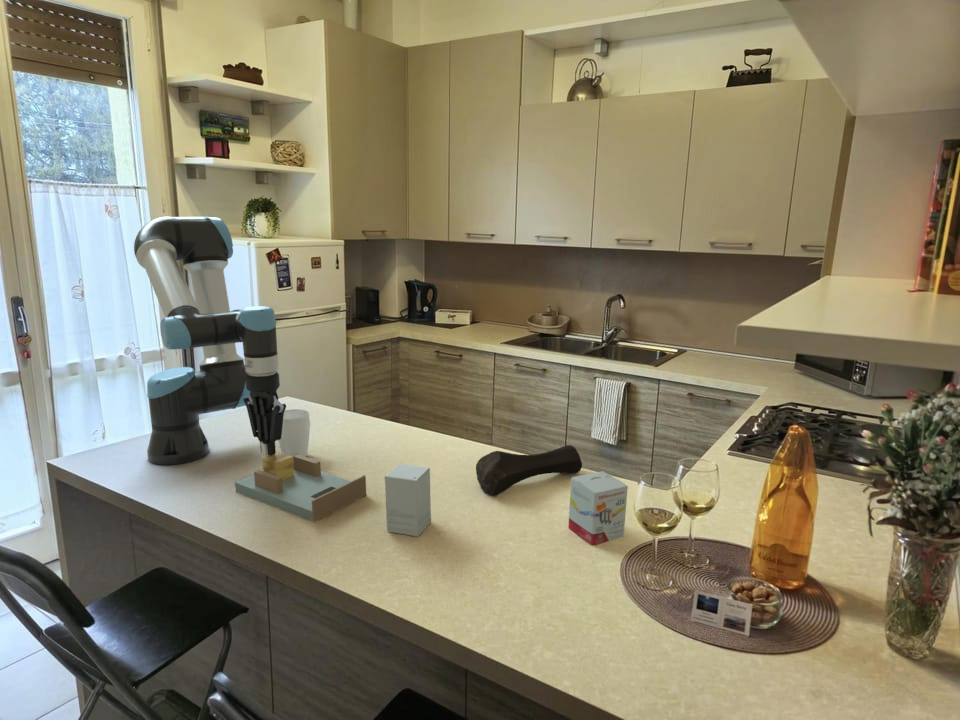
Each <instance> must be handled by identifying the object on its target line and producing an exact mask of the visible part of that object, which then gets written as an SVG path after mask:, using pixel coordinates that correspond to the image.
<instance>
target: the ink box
mask: <svg viewBox="0 0 960 720" xmlns="http://www.w3.org/2000/svg"><path fill="white" fill-rule="evenodd" d="M628 487H629V486H628V485H627V484H625V483H624V482H622V481H621V480H619V479H617V478H615V477H614V476H612V475H610V474H609V473H607V472H605V471H603V470H601V471H596V472H592V473H586V474H582V475H576V476H572V477H571V479H570V492H569V493H570V497H569V512H568V515H569V516H568V527H567V528H568V529H569V530H570V531H571V532H572V533H573V534H575V535H577V537H579V538H581V539H582V540H583V541H584V542H586V543H588V544H589V545H590V546H592V547H594V546H597V545H600V544H604V543H606V542H610V541H614V540H616V539H620V538H624V536H625V525H626V523H625V522H626V513H627V498H628V490H629V489H628Z"/></svg>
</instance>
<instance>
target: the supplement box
mask: <svg viewBox="0 0 960 720" xmlns="http://www.w3.org/2000/svg"><path fill="white" fill-rule="evenodd" d="M430 468H431V467H429V466H419V465H412V464H404V463H399V464H397V465H396V466H395V467H394V468H393V469H392V470H390V471H389V472H388V473H387V474H386V475H384V486H385V487H384V489H385V510H386V511H385V512H386V513H385V514H386V517H385V518H386V531H387V532H388V533H394V534H400V535H406V536H412V537H416V538H417V537H419V536H420V535H421V534H422V533H423V532H424V530H425V529H426V528H427V527H428V526H429V525H430V523H431V521H432V508H431V507H432V505H431V469H430ZM421 532H422V533H421Z"/></svg>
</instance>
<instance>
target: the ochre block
mask: <svg viewBox="0 0 960 720" xmlns="http://www.w3.org/2000/svg"><path fill="white" fill-rule="evenodd" d="M261 459H262V460H261V462H263V464H262V471H265V472H268V473H270V474H273V475H276V476H279V477H282V481H283V480H285V479H288V478H290V477H292V476H294V466H293V456H290V455H287V454H284V453H281V451H278V452H276V453H275V454H274V455H271V456H267V457H265V458H262V457H261Z"/></svg>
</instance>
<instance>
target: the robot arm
mask: <svg viewBox="0 0 960 720" xmlns="http://www.w3.org/2000/svg"><path fill="white" fill-rule="evenodd" d="M133 243H134V244H133V251H134V257H135V258H136V261H137V263H138V264H139V266H141V267H142V268H143V269H145V270H144V271H145V272H146V275H147V277H148V279H149V282H150V284H151V286H152V289H153V291H154V293H155V296H156V299H157V302H158V303H159V306H160V308H161V311H162V313H163V315H164V317H163V318H162V319H161V321H160V325H159V326H160V327H159V328H160V336H161V340H162V341H161V342H162V344H163V347H165V348H166V349H167V350H188V349H195V348H202V353H203V357H204V358H203V360H201V362H200V363H199V371H195V369H194V368H193V367H189V366H183V367H173V368H170V369H166V370H162V371H160V372H156V373H155V374H153V375H151V376H150V377H149V378H148V380H147V382H146V389H147V391H146V392H147V394H146V396H147V398H148V399H147V400H148V408H149V414H150V415H149V416H150V417H149V418H150V424H151V434H150V438H149V442H148V445H147V451H146V453H147V460H148V461H149V462H150V463H152V464H155V465H165V466H166V465H167V466H169V465H178V464H179V465H180V464H184V463H185V464H186V463H189V462H193V461H195V460H199V459H201V458H203V457H204V456H206V455H207V454H208V453H209V452H210V448H209V447H210V445H209V442H208V439H207V437H206V435H205V433H204V432H203V428H202V427H201V425H200V415H202V414H209V413H214V412H215V413H216V412H220V411H226V410H234V409H237V408H241V407H246V410H247V415H248V420H249V423H250V427H251V432H252V435H253V437H254V438H257V440H258V441H259V444H260V445H259V447H260V453H261V459H262V458H265V457H267V456H271V455H274V454H275V453H277V450H276V442H277V441H278V440H280V439H281V435H282V425H283V416H284V411H286V410H287V405H286V403H281V402H280V401H279V396H278V395H279V394H278V392H277V391H278V389H279V388H280V386H281V383H280V373H279V372H278V371H279V369H280V366H279V365H280V364H279V355H278V344H277V343H278V342H277V339H278V338H277V319H276V315H275V310H274V309H273V308H272V307H271V306H268V305H267V306H264V305H255V306H254V305H253V306H245V307H243V308H242V309H241V308H236V309H233V310H231V309H230V304H229V297H228V291H227V289H228V288H227V286H226V285H227V284H226V277H225V271H224V270H225V269H226V267H227V266H228V265H229V259H231V258H232V257H233V255H234V248H233V246H234V245H233V244H234V243H233V239H232V233H231V232H230V230H229V227H228V225H227V223H226V222H225V221H224V220H222V219H221V218H220V217H216V216H215V217H214V216H213V217H212V216H204V215H203V216H161V217H157V218H156V217H155V218H154V219H151V220H150V221H148V222H147V223H145V224H144V225H143V226H142V227H141V229H140V230H139V231H138V232H137V235H136V237H135V239H134V242H133ZM178 261H182V266H183V269H185V271H187V272H189V273H190V276H191V277H190V278H191V284H192V291H193V294H192V293H191V290H190V287H189V286H188V283H187V282H186V279H185V277H184V275H183V272H182V270H181V268H180V265H179V264H178ZM236 343H237V344H238V343H242V349H243V356H244V357H241V356H240V355H239V354H238V353H237V348H236ZM261 462H262V461H261ZM261 465H263V462H262V464H261Z"/></svg>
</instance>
